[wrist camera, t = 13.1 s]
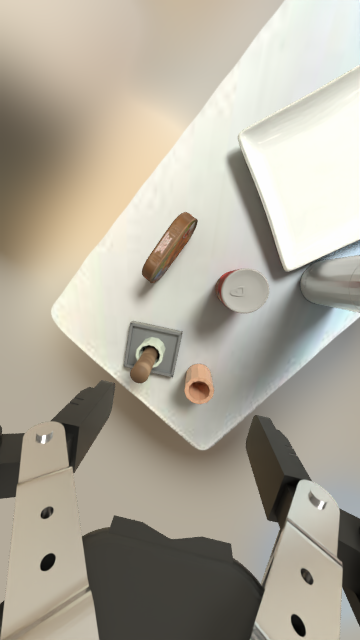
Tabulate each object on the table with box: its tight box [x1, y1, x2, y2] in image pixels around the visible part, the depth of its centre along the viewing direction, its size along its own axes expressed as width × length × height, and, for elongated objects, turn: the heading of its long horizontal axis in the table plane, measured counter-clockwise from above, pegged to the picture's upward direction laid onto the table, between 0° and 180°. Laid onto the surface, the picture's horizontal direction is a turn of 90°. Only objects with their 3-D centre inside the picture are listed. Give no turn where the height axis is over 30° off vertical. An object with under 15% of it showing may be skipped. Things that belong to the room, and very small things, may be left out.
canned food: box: [216, 268, 269, 313], centre depth 40 cm, size 8×8×11 cm
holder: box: [136, 337, 165, 368], centre depth 46 cm, size 6×6×4 cm
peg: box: [130, 345, 159, 383], centre depth 42 cm, size 3×3×13 cm
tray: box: [124, 321, 183, 377], centre depth 48 cm, size 12×11×2 cm
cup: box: [184, 364, 214, 404], centre depth 46 cm, size 6×6×7 cm
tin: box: [142, 212, 197, 283], centre depth 40 cm, size 15×3×8 cm, turn 142°
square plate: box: [238, 65, 360, 272], centre depth 38 cm, size 27×27×4 cm
